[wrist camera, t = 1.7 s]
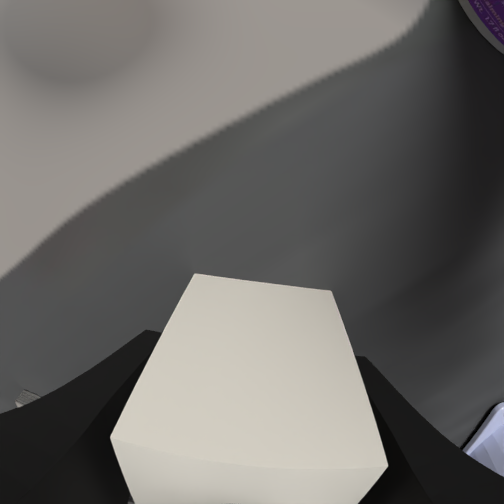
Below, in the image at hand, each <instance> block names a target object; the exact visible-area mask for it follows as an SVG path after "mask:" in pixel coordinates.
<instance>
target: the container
mask: <svg viewBox="0 0 504 504" xmlns="http://www.w3.org/2000/svg"><path fill="white" fill-rule="evenodd" d="M458 1H459V3H460V4H461V6H462V8H463V9H464V11H465V13H466V14H467V16H468V17H469V19H470V20H471V21H472V23H473V24H474V25H475V27H476V28H477V29H478V31H479V32H480V33H481V34H482V35H483V36H484V37H485V38H486V39H487V40H488V41H489V42H490V43H491V44H492V45H493V46H494V47H495V48H496V49H497V50H499V51H500V52H501V53H503V54H504V0H458Z"/></svg>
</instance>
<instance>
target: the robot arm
mask: <svg viewBox="0 0 504 504" xmlns="http://www.w3.org/2000/svg"><path fill="white" fill-rule="evenodd" d="M161 335H162V333H160V332H155V331H150V330H145V331H144V332H142V333H141V334H139V335H138V336H136V337H135V338H134V339H132V340H131V341H130V342H128V343H127V344H125V345H124V346H123V347H121V348H120V349H119V350H117V351H116V352H114V353H113V354H112V355H110V356H109V357H107V358H106V359H104V360H103V361H101V362H100V363H99V364H97V365H96V366H94V367H93V368H91V369H90V370H88V371H87V372H85V373H83V374H82V375H80V376H78V377H77V378H75V379H74V380H72V381H70V382H69V383H67V384H65V385H64V386H62V387H60V388H58V389H57V390H55V391H53V392H51V393H49V394H47V395H45V396H43V397H41V398H39V399H36V400H34V401H32V402H30V403H28V404H25V405H23V406H21V407H18V408H15V409H13V410H10V411H7V412H4V413H1V414H0V504H128V501H129V497H130V491H129V488H128V486H127V483H126V481H125V478H124V476H123V473H122V470H121V468H120V465H119V462H118V459H117V457H116V454H115V451H114V448H113V445H112V442H111V439H110V436H111V434H112V432H113V430H114V428H115V426H116V424H117V422H118V420H119V418H120V416H121V414H122V412H123V410H124V408H125V405H126V403H127V401H128V399H129V397H130V395H131V393H132V391H133V389H134V387H135V385H136V383H137V381H138V379H139V377H140V376H141V374H142V372H143V370H144V368H145V366H146V364H147V362H148V360H149V358H150V356H151V354H152V352H153V350H154V348H155V346H156V344H157V343H158V341H159V339H160V337H161ZM355 359H356V362H357V365H358V368H359V371H360V374H361V377H362V380H363V383H364V386H365V389H366V392H367V396H368V399H369V402H370V405H371V408H372V412H373V415H374V418H375V421H376V425H377V428H378V431H379V435H380V438H381V442H382V445H383V449H384V452H385V456H386V459H387V463H388V467H387V468H386V470H385V471H384V472H383V474H382V475H381V476H380V477H379V479H378V480H377V481H376V482H375V484H374V485H373V486H372V487H371V489H370V490H369V491H368V492H367V493H366V494H365V496H364V497H363V498H362V499H361V500H360V501H359V503H358V504H504V402H502V403H500V404H498V405H497V406H496V407H494V409H493V410H492V411H491V413H490V414H489V416H488V417H487V418H486V420H485V421H484V423H483V424H482V426H481V427H480V428H479V430H478V431H477V432H476V434H475V435H474V436H473V438H472V439H471V440H470V442H469V443H468V444H467V445H466V447H465V448H464V449H463V450H461V449H460V448H458V447H457V446H456V445H455V444H453V443H452V442H451V441H449V440H448V439H447V438H446V437H444V436H443V435H442V434H441V433H440V432H439V431H438V430H436V429H435V428H434V427H433V426H432V425H431V424H430V423H429V422H428V421H427V420H426V419H425V418H423V417H422V416H421V415H420V414H419V413H418V412H417V411H416V410H415V409H414V408H413V407H412V406H411V405H410V404H409V403H408V402H407V401H406V400H405V398H404V397H403V396H402V395H401V394H400V393H399V392H398V391H397V390H396V389H395V388H394V387H393V386H392V385H391V384H390V382H389V381H388V380H387V379H386V378H385V377H384V376H383V375H382V374H381V373H380V372H379V371H378V369H377V368H376V367H375V366H374V365H373V364H372V363H371V362H370V361H369V360H368V359H367V358H366V357H362V356H355Z"/></svg>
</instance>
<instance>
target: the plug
mask: <svg viewBox="0 0 504 504" xmlns="http://www.w3.org/2000/svg"><path fill="white" fill-rule="evenodd" d="M110 439H111V442H112V445H113V448H114V451H115V454H116V457H117V459H118V462H119V465H120V468H121V470H122V473H123V476H124V478H125V481H126V483H127V486H128V488H129V491H130V493H131V495H132V498H133V500H134V502H135V504H358V503H359V501H360V500H361V499H362V498H363V497H364V496H365V494H366V493H367V492H368V491H369V490H370V489H371V487H372V486H373V485H374V484H375V482H376V481H377V480H378V479H379V477H380V476H381V475H382V474H383V472H384V471H385V470H386V468H387V467H388V463H387V459H386V456H385V452H384V449H383V445H382V442H381V438H380V435H379V431H378V428H377V425H376V421H375V418H374V415H373V412H372V408H371V405H370V402H369V399H368V396H367V392H366V389H365V386H364V383H363V380H362V377H361V374H360V371H359V368H358V365H357V362H356V359H355V356H354V353H353V350H352V347H351V344H350V341H349V339H348V336H347V333H346V330H345V327H344V324H343V322H342V319H341V316H340V313H339V310H338V308H337V305H336V302H335V300H334V297H333V294H332V292H331V291H328V290H319V289H311V288H302V287H294V286H286V285H277V284H269V283H262V282H254V281H246V280H238V279H231V278H224V277H216V276H209V275H202V274H194V275H193V277H192V279H191V281H190V283H189V285H188V286H187V288H186V290H185V292H184V294H183V296H182V297H181V299H180V301H179V303H178V305H177V307H176V309H175V310H174V312H173V314H172V316H171V318H170V320H169V322H168V324H167V325H166V327H165V329H164V331H163V333H162V335H161V337H160V339H159V341H158V343H157V344H156V346H155V348H154V350H153V352H152V354H151V356H150V358H149V360H148V362H147V364H146V366H145V368H144V370H143V372H142V374H141V376H140V377H139V379H138V381H137V383H136V385H135V387H134V389H133V391H132V393H131V395H130V397H129V399H128V401H127V403H126V405H125V408H124V410H123V412H122V414H121V416H120V418H119V420H118V422H117V424H116V426H115V428H114V430H113V432H112V434H111V436H110Z"/></svg>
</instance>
